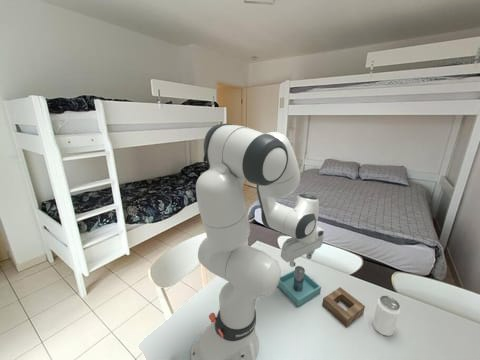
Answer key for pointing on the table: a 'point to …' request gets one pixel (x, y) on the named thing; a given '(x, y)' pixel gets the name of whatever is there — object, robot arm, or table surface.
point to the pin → (298, 278)
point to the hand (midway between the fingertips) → (300, 261)
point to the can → (386, 315)
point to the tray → (299, 298)
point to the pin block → (338, 312)
